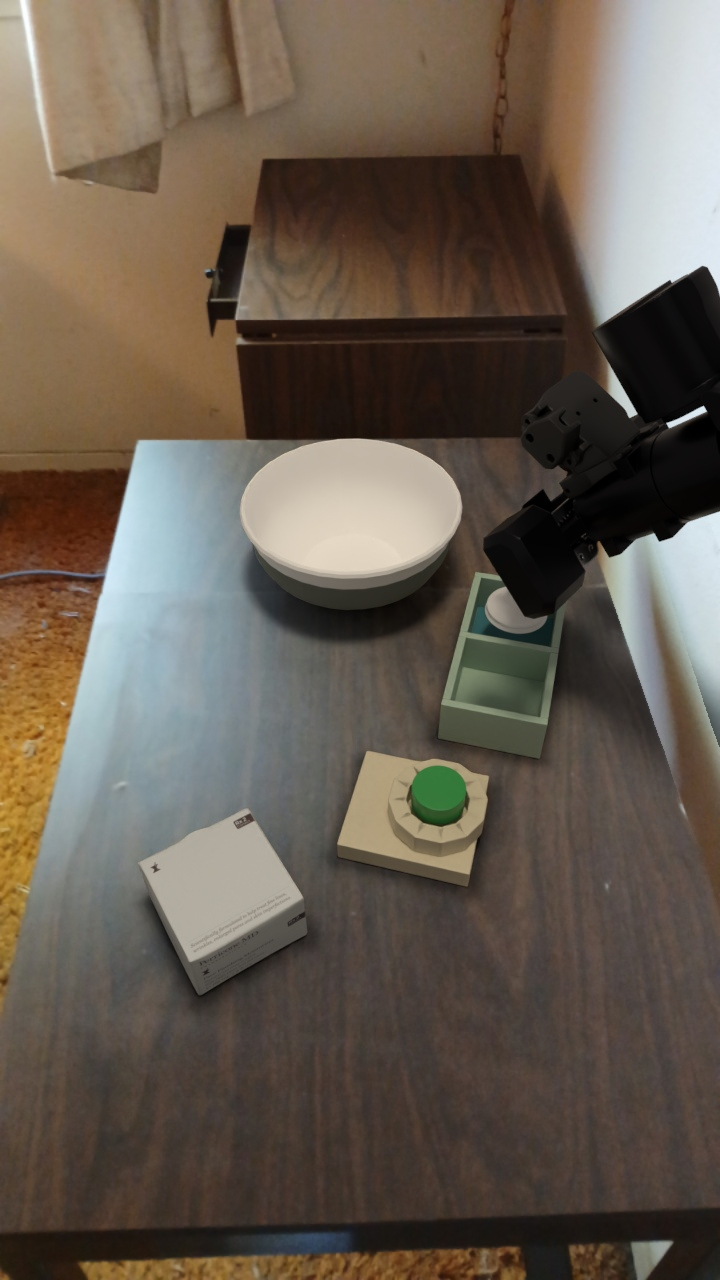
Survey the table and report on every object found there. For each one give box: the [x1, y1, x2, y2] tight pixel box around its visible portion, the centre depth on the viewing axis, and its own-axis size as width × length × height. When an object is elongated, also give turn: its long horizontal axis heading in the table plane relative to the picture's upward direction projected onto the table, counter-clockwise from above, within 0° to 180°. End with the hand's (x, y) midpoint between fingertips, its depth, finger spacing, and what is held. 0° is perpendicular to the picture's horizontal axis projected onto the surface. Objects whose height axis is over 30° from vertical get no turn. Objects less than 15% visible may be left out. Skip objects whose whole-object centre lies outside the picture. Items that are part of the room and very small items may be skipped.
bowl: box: [239, 438, 463, 611], centre depth 77 cm, size 19×19×8 cm
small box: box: [137, 807, 308, 996], centre depth 56 cm, size 8×8×5 cm
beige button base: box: [336, 750, 490, 888], centre depth 61 cm, size 9×8×4 cm
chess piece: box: [485, 587, 547, 634], centre depth 67 cm, size 5×5×10 cm
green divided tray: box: [437, 571, 567, 760], centre depth 70 cm, size 15×8×4 cm, turn 165°
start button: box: [411, 765, 466, 825], centre depth 59 cm, size 4×4×2 cm
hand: (512, 540), depth 67 cm, fingers closed on chess piece
